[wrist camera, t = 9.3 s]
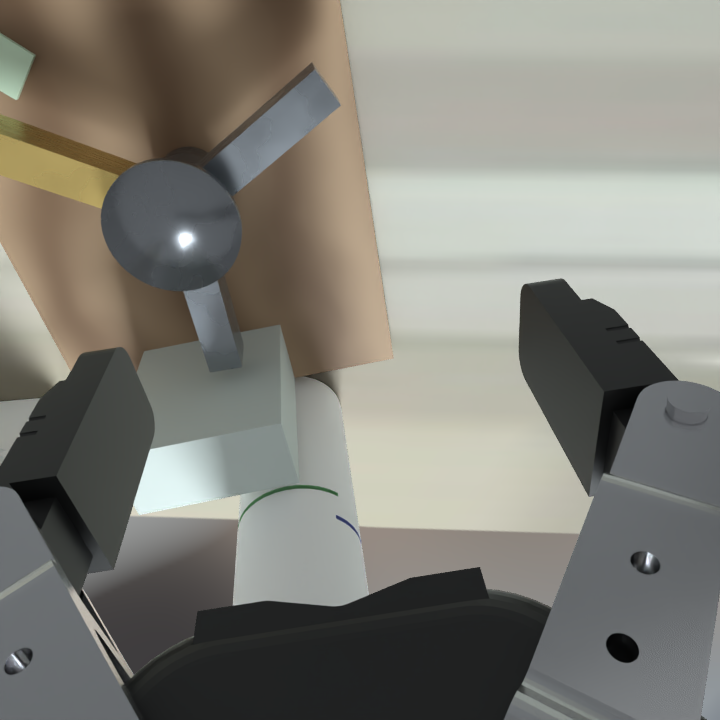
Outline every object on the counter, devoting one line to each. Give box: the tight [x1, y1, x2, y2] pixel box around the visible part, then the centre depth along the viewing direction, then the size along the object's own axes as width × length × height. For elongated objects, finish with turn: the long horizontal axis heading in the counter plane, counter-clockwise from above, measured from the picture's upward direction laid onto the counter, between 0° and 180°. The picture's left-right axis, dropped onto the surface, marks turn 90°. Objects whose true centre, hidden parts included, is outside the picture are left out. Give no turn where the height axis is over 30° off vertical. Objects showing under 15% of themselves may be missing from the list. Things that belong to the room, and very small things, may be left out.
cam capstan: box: [0, 63, 341, 372], centre depth 28 cm, size 16×14×7 cm
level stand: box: [133, 325, 299, 515], centre depth 35 cm, size 10×4×10 cm, turn 99°
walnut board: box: [0, 0, 393, 378], centre depth 34 cm, size 21×24×1 cm
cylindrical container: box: [233, 376, 369, 606], centre depth 33 cm, size 7×7×25 cm
